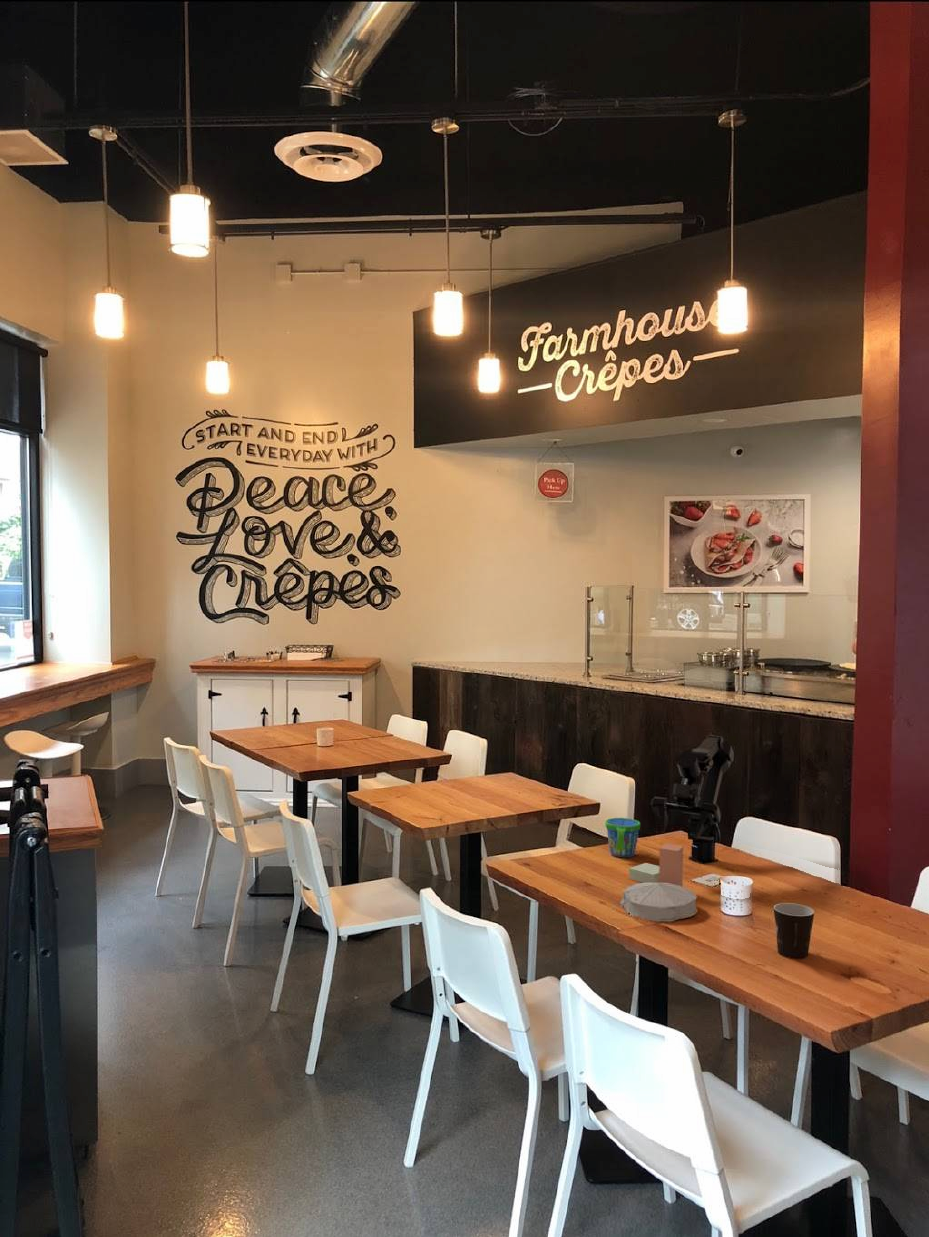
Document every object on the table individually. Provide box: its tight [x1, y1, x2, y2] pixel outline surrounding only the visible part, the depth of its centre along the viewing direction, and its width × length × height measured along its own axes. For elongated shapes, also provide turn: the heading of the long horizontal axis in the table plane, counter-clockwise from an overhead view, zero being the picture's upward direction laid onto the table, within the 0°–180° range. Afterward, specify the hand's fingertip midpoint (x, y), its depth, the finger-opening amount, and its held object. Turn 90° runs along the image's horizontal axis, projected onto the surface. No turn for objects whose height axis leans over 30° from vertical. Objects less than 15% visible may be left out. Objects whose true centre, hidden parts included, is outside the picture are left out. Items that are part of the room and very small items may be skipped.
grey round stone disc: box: [619, 882, 698, 923], centre depth 245 cm, size 20×20×7 cm
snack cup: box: [605, 817, 641, 858], centre depth 294 cm, size 16×10×10 cm
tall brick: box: [658, 843, 684, 887], centre depth 259 cm, size 5×5×12 cm
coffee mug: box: [773, 902, 815, 960], centre depth 215 cm, size 12×9×10 cm
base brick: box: [628, 862, 659, 883], centre depth 269 cm, size 8×8×3 cm
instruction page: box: [691, 873, 724, 888], centre depth 269 cm, size 10×7×1 cm
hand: (679, 835), depth 265 cm, fingers open, 9 cm apart
